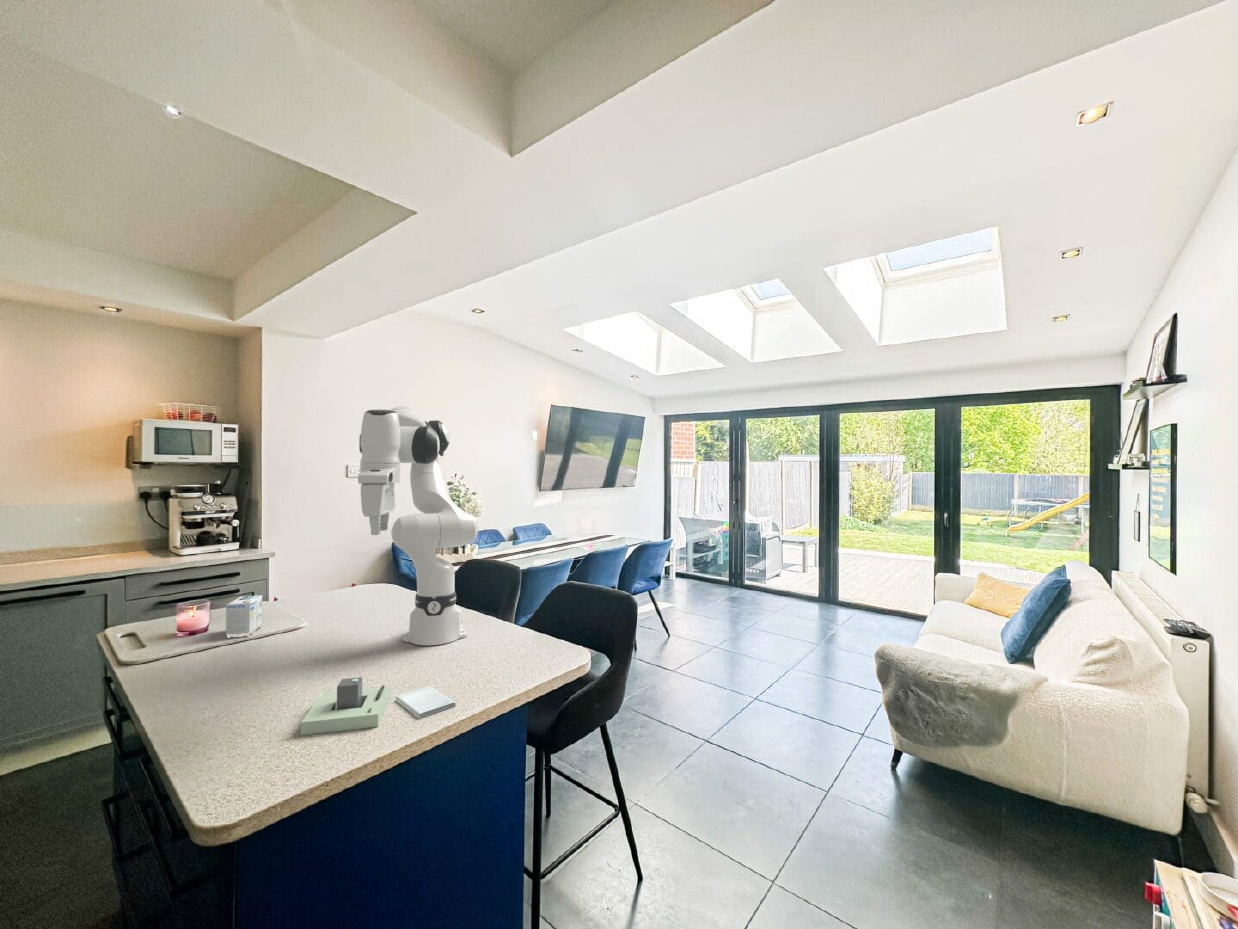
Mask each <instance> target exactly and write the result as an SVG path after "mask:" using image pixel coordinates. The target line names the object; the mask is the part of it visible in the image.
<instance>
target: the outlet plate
mask: <svg viewBox="0 0 1238 929" xmlns="http://www.w3.org/2000/svg"><path fill="white" fill-rule="evenodd" d="M391 688H392V686H391V685H388V686H385V685H381V686H380V687H379V686H378V687H377V686H376V687H369V688H362V708H352V709H343V710H337V690H336V691H335V690H334V691H325V692H322V694H321V695H320V696H319V697H318V699H317V700H316V701H315V703H314V704H313V705H312V707H311V708H310V710H309V711H308V712H307V714H306V715H304V718H303V719H302V720H301V721H300V736H305V735H315V734H323V733H331V732H332V733H333V732H341V731H349V730H351V731H352V730H357V729H358V730H359V729H367V728H377V727H379V726H380V723H381V721H382V719H383V716H384V714H385V711H386V709H387V707H388V704H389V702H390V700H391V697H392V696H391V695H392V690H391Z"/></svg>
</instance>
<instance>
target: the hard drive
mask: <svg viewBox="0 0 1238 929" xmlns="http://www.w3.org/2000/svg"><path fill="white" fill-rule="evenodd" d="M395 701H396V702H397V703H398V704H399V705H401V706H402V707H403V708H405V709H406V710H407V711H408V712H409V713H411V714H412V713H413V714H412V715H414V716H415V717H416V718H417V719H419V720H421V719H424V718H427V717H430V716H432V715H436V714H438V713H441V712H444V711H447V710H450V709H452V708H456V704H457V703H456V701H453V700H452V699H450V698H449V697H448V696H446V695H445V694H443V693H441V692H440V691H438V690H437V689H436V688H434V687H432V686H431V685H428V686H424V687H422V688H418V689H414V690H411V691H408V692H405V693H402V694H399V695H396V696H395Z"/></svg>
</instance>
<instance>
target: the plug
mask: <svg viewBox="0 0 1238 929" xmlns="http://www.w3.org/2000/svg"><path fill="white" fill-rule="evenodd" d="M362 689H363V676H361V677H351V678H341V680H340V682H339V683H338V684H337V687H336V691H337V710H343V709H352V708H362Z"/></svg>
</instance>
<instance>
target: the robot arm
mask: <svg viewBox="0 0 1238 929" xmlns="http://www.w3.org/2000/svg"><path fill="white" fill-rule="evenodd" d="M360 428H361V429H360V434H359V449H358V450H359V452H360V454H361V458H360V461H359V462H360V464H359V468H360V469H359V473H358V475H357V482H358V484H360V502H361V503H360V504H361V512H362V515H363V517H367V518H368V519H369V520H368V521H369V525H370V526H369V527H370V534H371V536H378V535H379V536H380V534H381V532H383V531H385V532H386V531H387V530H388V529H389V520H390V516H391V515H390V513H391V512H392V511H395V506H396V500H395V499H396V496H395V495H396V494H395V493H396V491H395V483H397V484H398V483H401V464H411V465H410V473H409V479H410V481H409V482H410V487H411V488H410V490H411V496H412V502H413V505H414V507H415V508H416V509H417V510H418V511H419V512H421V513H412V514H408V515H403V516H400V517H398V518H397V519H396V520H395V521H394V522H393V524H392V526H391V527H392V528H391V531H390V532H391V539H392V542H393V544H394V545H395V546H396V547H398V549H400V550H402V551H403V552H404V554H405V553H406V555H407V556H408V557H409V558H410V560H411V561H412V563H413V565H414V568H415V573H416V575H415V576H416V594H415V597H414V601H415V602H414V604H415V605H414V606H415V608H414V609H413V611H411V613H410V615H409V625H408V626H409V627H408V630H409V631H408V633H407V634H405V635H404V636H403V638H402V641H403V642H404V643H405V642H406V643H411V644H413V645H418V646H436V645H437V646H438V645H439V646H440V645H444V644H448V643H449V644H450V643H453V642H454V641H457V640H459V639H463V638H466V637H468V632H467V630H466V629H465V626H464V625H463V624H462V623H463V621H462V619H461V617H462V616H461V609H459V608H460V607H458V606H457V605H456V603H457V593H456V590H455V589H456V588H455V584H456V583H455V580H456V579H455V577H456V574H455V573H456V570H455V567H454V565H453V564H452V563H451V562H449V561H447V560H445V559H443V558H440V557H438V556H437V555H436V552H435V550H436V549H445V548H446V549H447V548H459V547H463V546H466V545H469V544H473V543H474V542H475V540H476V539H477V537H478V535H479V529H480V528H479V523H478V520H477V518H476V516H474V515H473V514H471V513H469V512H467V511H465V510H463V509H462V508H461V507H459V506H458V505H457V504H456V503H455V502H454V501H453V500H452V498H451V496H450V493H449V490H448V485H447V481H446V477H445V473H444V470H443V468H442V467H443V466H441V463H440V461H439V459H438V457H439V456H440V457H443V456H444V455H445V454H444V452H445V451H446V450H448V446H449V444H450V433H449V431H448V428H447V426H446V425H445V424H444V422H442V421H441V420H436V419H434V420H429V421H428V422H427V421H426V420H423V419H421V418H420V416H419V414H418V413H417V412H416V410H414V409H413V408H411V407H407V406H397V407H394V408H391V409H370V410H369V409H368V410H366V411H364V413H363V417H362V422H361V427H360Z"/></svg>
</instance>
